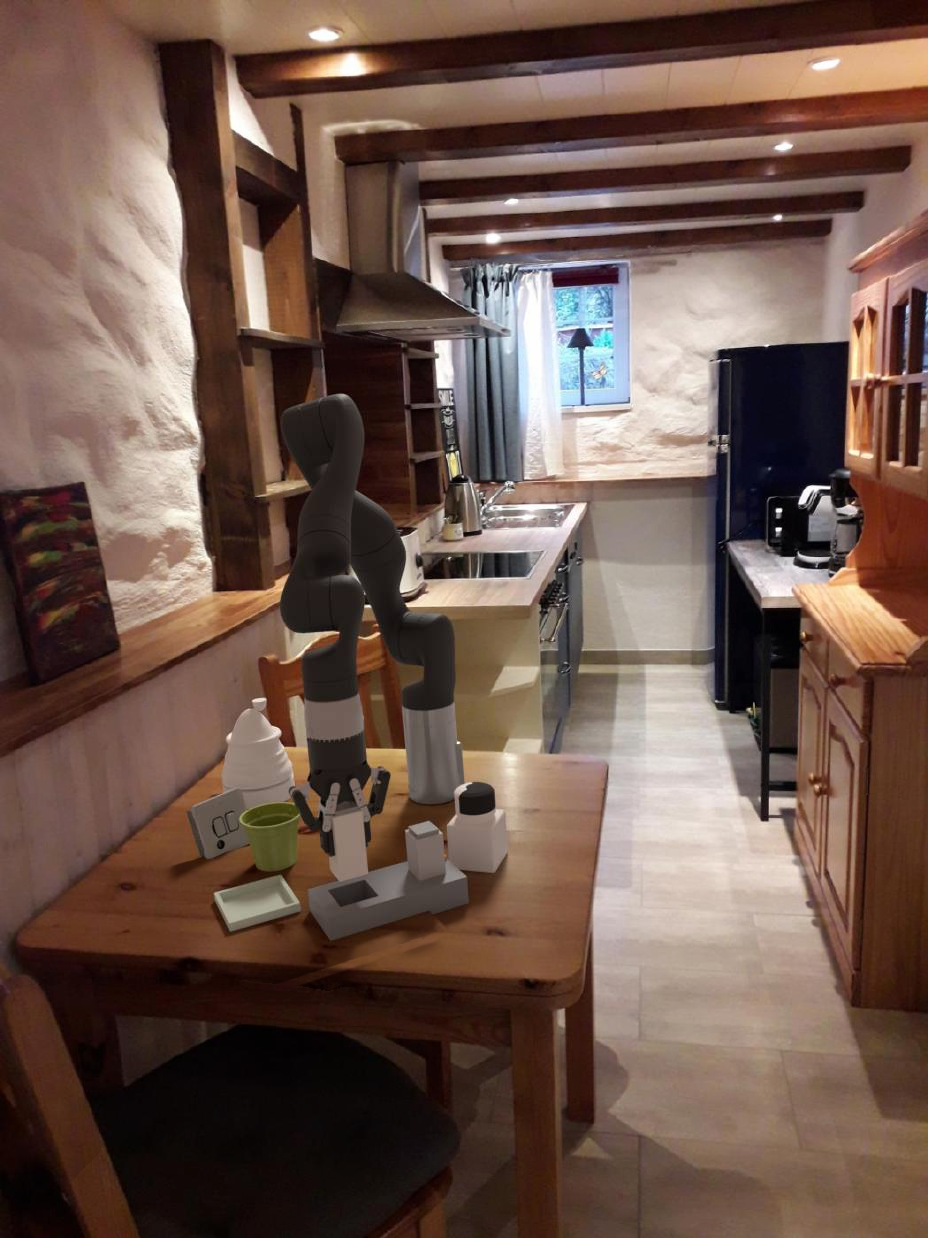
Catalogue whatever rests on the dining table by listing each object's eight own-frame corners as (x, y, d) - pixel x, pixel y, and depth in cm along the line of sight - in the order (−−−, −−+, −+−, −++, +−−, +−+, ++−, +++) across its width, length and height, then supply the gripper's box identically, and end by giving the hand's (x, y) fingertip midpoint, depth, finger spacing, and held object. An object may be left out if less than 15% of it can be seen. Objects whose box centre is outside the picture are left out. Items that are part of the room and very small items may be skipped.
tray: (282, 887, 140) (280, 874, 139) (301, 916, 131) (300, 903, 131) (215, 905, 135) (213, 892, 135) (230, 937, 127) (229, 923, 126)
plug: (358, 862, 130) (352, 796, 128) (368, 874, 126) (362, 806, 124) (330, 869, 128) (323, 803, 126) (339, 881, 125) (333, 813, 123)
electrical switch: (210, 865, 148) (199, 808, 147) (191, 860, 152) (180, 804, 150) (257, 842, 156) (247, 788, 154) (238, 837, 159) (228, 785, 157)
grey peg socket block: (441, 877, 139) (436, 809, 137) (468, 903, 131) (463, 832, 129) (310, 915, 131) (302, 845, 129) (331, 946, 123) (323, 871, 121)
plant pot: (240, 861, 149) (234, 810, 147) (299, 847, 152) (293, 796, 150) (252, 886, 140) (245, 832, 138) (314, 871, 144) (308, 818, 142)
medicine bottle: (508, 852, 146) (503, 779, 143) (494, 874, 139) (489, 798, 136) (464, 848, 148) (459, 776, 145) (449, 869, 141) (443, 794, 139)
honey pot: (281, 776, 183) (271, 687, 180) (305, 797, 172) (294, 703, 169) (216, 793, 177) (203, 701, 174) (236, 816, 166) (223, 718, 163)
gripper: (376, 710, 129) (386, 827, 133) (274, 731, 124) (287, 852, 127) (396, 724, 123) (406, 847, 126) (289, 747, 117) (303, 875, 120)
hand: (346, 849), depth 127 cm, fingers closed on plug, 4 cm apart
